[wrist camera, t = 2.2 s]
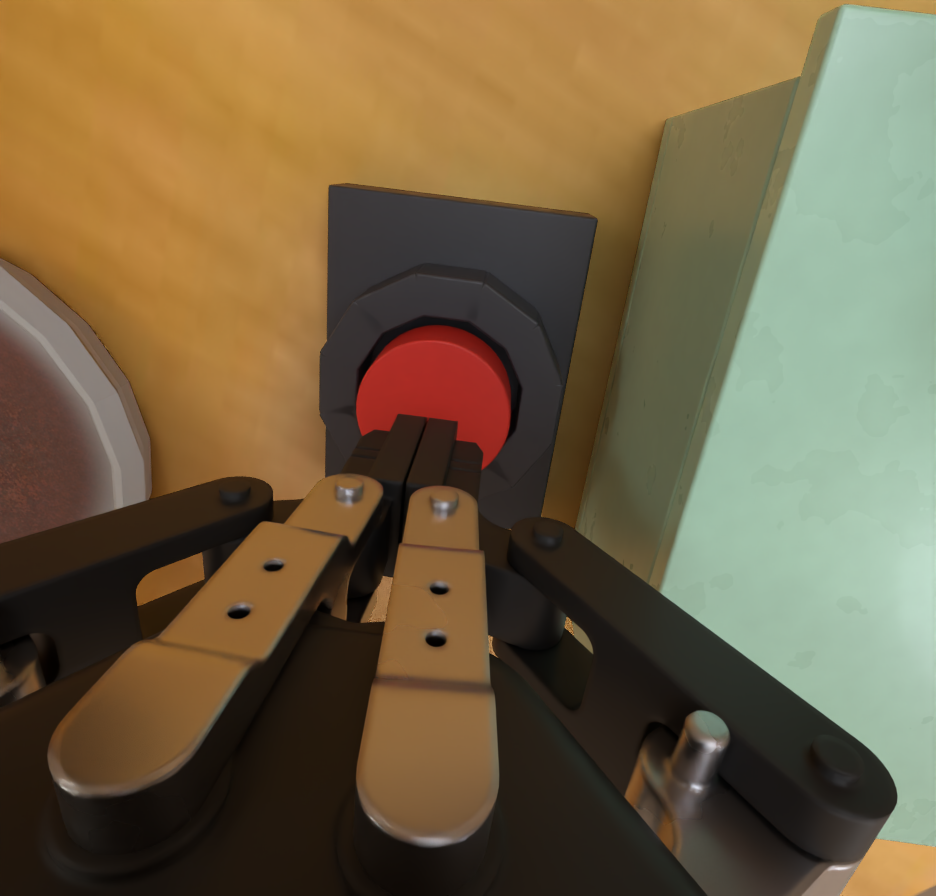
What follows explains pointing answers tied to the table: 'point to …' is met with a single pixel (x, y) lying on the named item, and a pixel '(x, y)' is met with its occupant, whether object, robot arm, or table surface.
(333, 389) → the control block
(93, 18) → the table surface
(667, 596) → the green box lid
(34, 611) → the robot arm
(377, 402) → the release button
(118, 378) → the shallow round dish
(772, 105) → the box wall
